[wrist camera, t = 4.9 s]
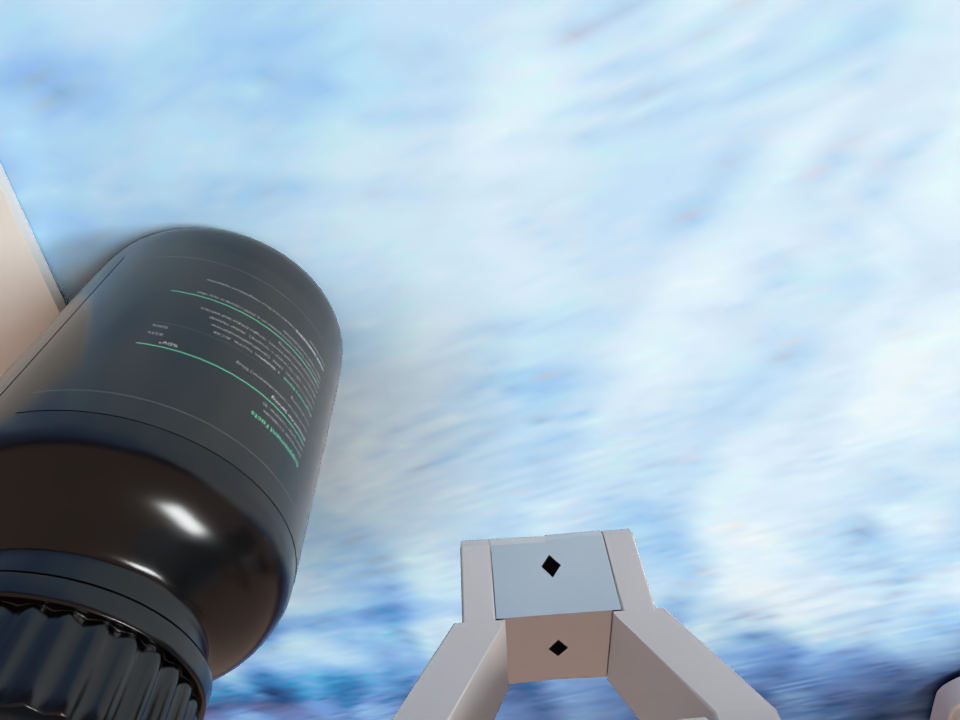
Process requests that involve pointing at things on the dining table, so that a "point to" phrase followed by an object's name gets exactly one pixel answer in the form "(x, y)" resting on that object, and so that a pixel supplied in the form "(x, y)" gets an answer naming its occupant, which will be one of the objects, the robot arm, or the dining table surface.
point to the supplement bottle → (159, 476)
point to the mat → (22, 281)
